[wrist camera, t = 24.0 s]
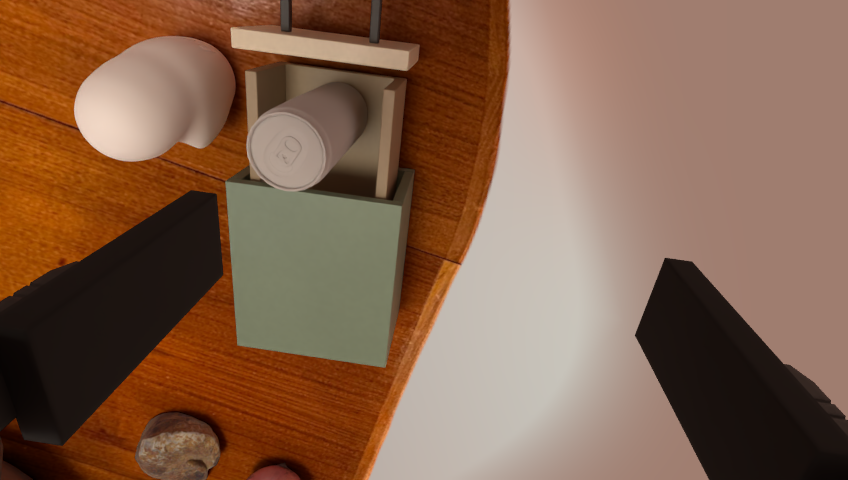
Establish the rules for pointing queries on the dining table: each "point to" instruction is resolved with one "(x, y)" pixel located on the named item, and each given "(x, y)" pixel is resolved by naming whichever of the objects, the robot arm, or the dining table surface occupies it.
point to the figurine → (156, 98)
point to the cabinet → (317, 268)
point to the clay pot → (12, 473)
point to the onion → (274, 473)
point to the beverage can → (306, 136)
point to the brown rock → (177, 448)
